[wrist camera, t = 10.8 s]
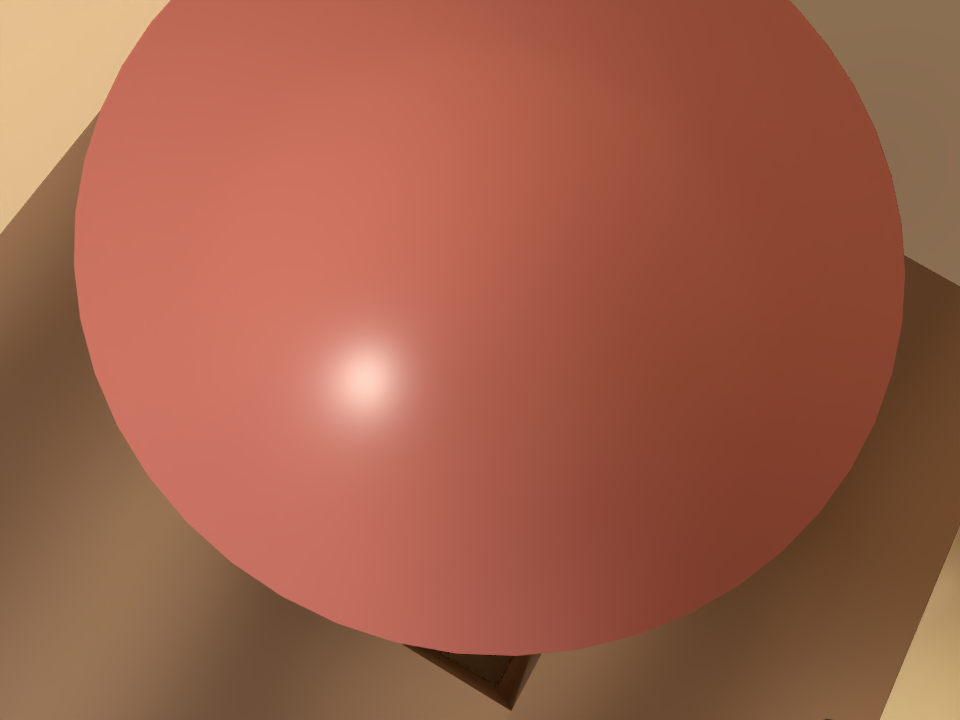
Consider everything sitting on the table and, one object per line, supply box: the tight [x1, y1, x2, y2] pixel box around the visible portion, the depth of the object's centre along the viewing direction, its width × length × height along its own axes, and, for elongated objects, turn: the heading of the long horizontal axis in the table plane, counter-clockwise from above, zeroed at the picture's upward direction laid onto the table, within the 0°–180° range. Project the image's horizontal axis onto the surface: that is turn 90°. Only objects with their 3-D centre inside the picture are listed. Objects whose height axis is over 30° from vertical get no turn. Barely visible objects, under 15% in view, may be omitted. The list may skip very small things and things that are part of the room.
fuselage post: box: [74, 0, 905, 656], centre depth 11 cm, size 5×5×13 cm
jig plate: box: [0, 112, 960, 720], centre depth 16 cm, size 18×17×2 cm
